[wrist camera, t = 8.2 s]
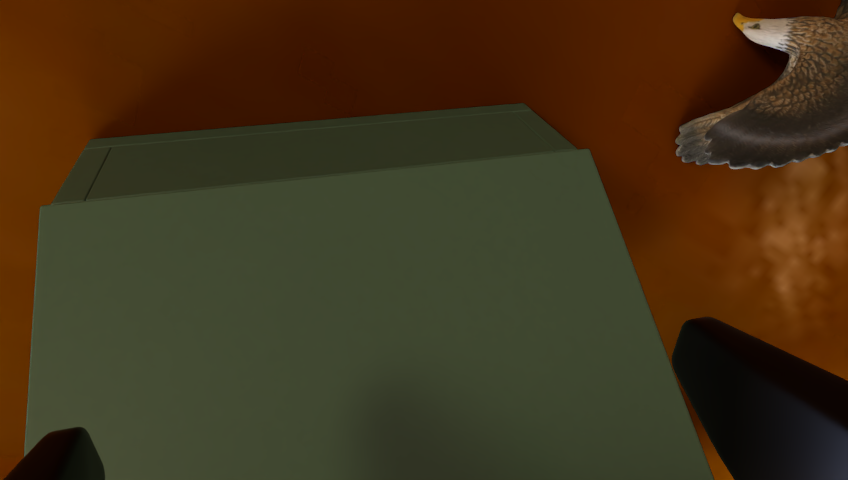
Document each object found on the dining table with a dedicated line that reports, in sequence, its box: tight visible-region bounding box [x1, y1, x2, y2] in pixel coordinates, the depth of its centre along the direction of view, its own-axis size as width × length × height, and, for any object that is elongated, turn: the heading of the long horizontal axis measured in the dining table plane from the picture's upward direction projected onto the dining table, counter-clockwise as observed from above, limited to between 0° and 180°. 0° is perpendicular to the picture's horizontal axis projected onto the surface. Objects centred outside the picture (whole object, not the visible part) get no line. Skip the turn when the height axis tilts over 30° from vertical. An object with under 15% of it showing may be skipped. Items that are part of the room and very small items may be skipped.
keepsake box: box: [51, 103, 577, 205], centre depth 21 cm, size 12×15×4 cm
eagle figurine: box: [675, 0, 848, 169], centre depth 20 cm, size 8×7×9 cm
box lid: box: [24, 149, 714, 480], centre depth 11 cm, size 12×15×5 cm
